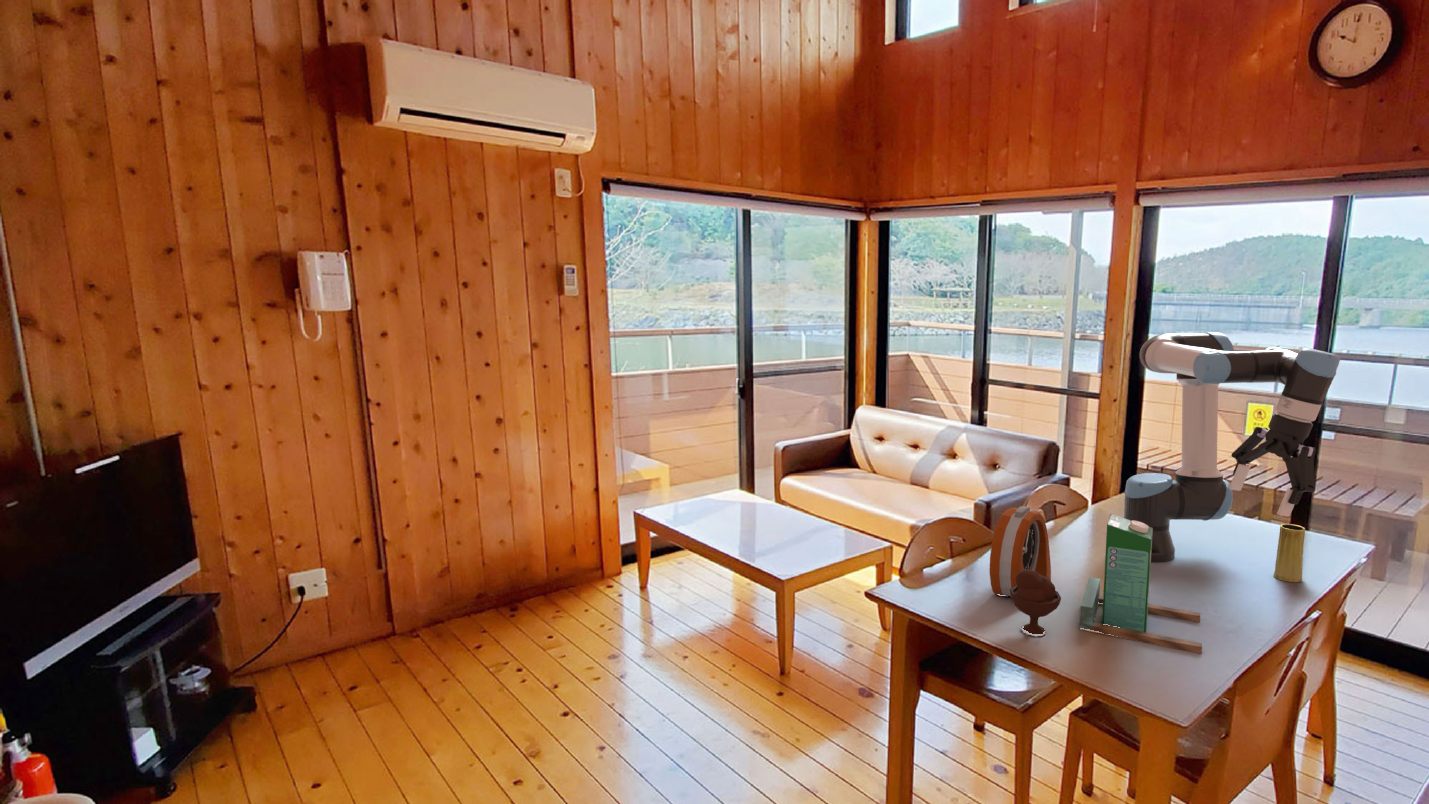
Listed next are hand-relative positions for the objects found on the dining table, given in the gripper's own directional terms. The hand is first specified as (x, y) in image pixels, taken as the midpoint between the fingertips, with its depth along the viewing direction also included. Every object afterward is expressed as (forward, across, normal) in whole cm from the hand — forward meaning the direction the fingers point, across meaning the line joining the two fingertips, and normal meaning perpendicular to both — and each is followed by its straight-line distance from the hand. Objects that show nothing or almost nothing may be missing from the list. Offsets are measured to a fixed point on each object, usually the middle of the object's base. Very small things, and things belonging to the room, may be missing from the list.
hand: (1257, 502), depth 173 cm
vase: (+25, -12, +33) cm, 43 cm away
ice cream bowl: (+38, +2, -47) cm, 61 cm away
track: (+33, +4, -22) cm, 39 cm away
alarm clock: (+40, -20, -37) cm, 58 cm away
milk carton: (+34, +2, -24) cm, 41 cm away
